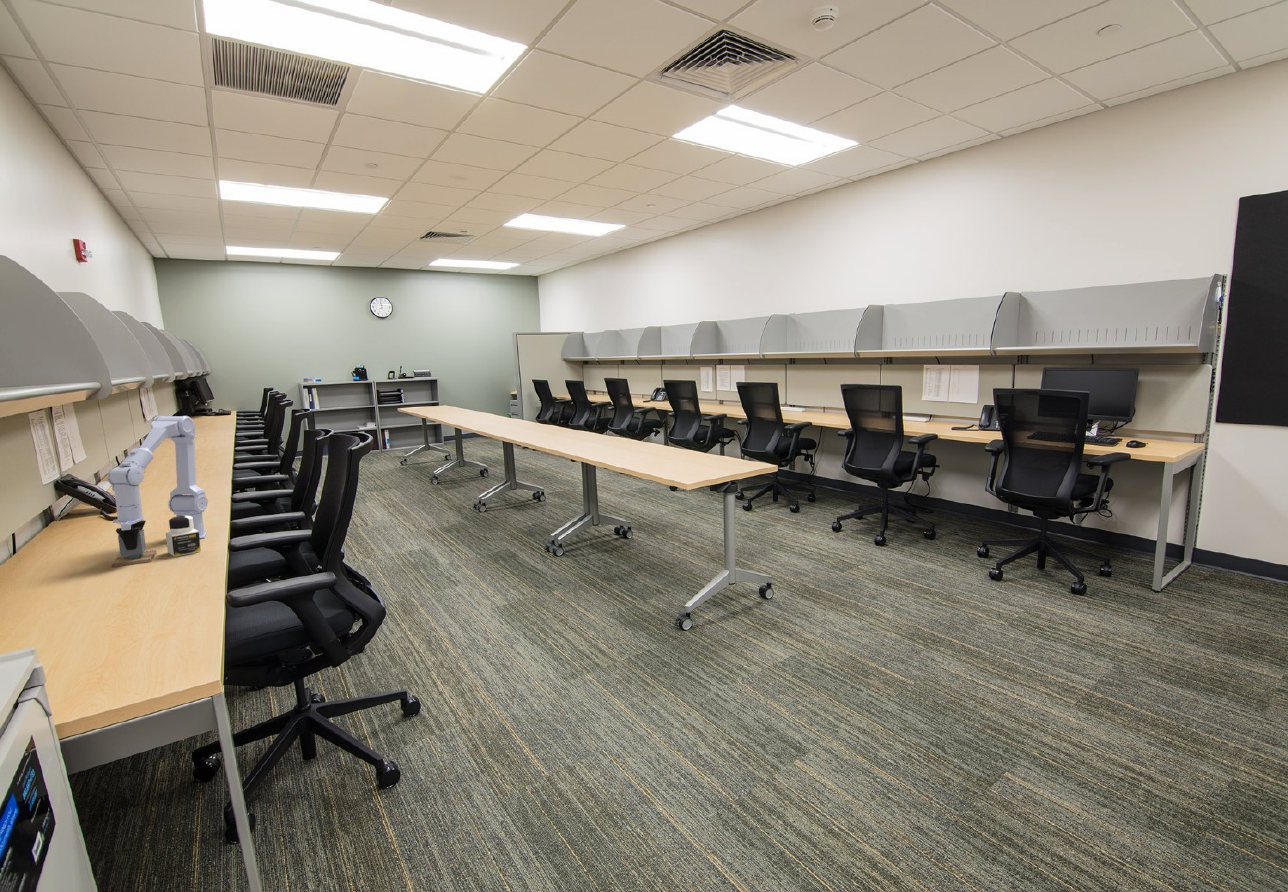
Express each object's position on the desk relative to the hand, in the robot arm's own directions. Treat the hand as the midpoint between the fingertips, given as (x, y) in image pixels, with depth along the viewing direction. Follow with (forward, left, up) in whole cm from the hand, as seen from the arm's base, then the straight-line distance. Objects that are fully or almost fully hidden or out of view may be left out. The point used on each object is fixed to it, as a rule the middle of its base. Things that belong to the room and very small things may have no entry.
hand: (133, 547), depth 177 cm
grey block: (0, 0, -2) cm, 2 cm away
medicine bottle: (-2, +12, -4) cm, 13 cm away
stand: (0, 0, -4) cm, 4 cm away
